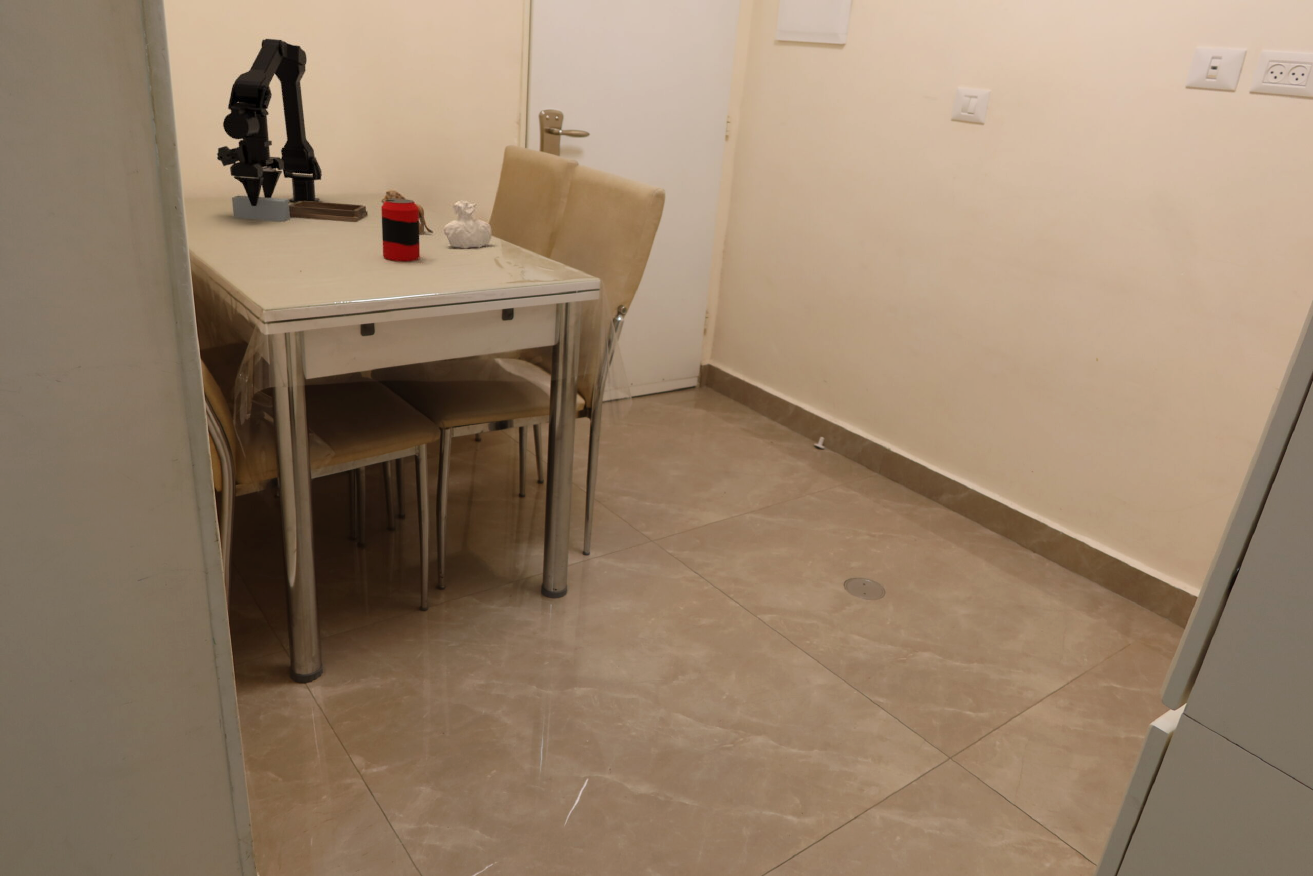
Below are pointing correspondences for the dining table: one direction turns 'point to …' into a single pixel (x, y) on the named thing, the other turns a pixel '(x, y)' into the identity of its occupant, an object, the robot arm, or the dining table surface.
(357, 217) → the brown wooden tray
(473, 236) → the white tied bag
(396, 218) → the soda can
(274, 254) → the dining table surface
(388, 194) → the lion figurine
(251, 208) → the grey block
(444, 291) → the dining table surface
